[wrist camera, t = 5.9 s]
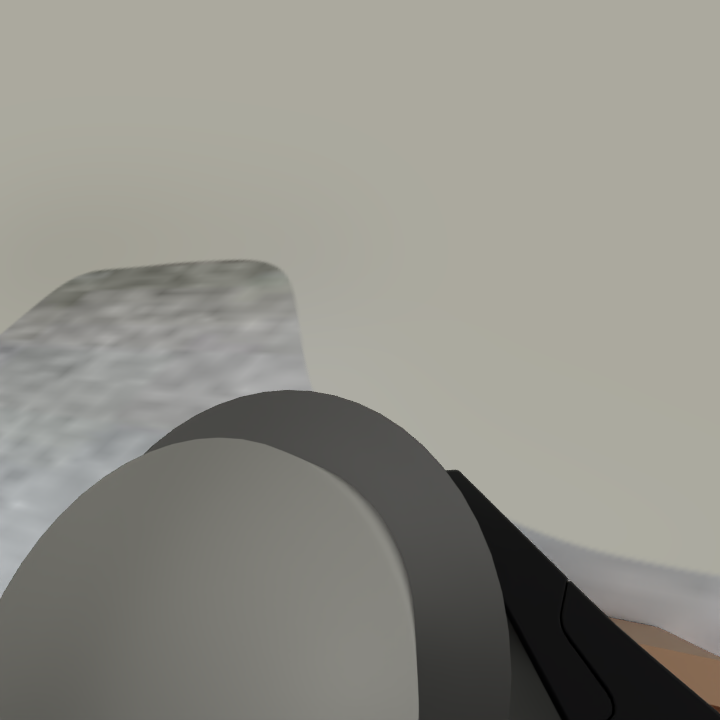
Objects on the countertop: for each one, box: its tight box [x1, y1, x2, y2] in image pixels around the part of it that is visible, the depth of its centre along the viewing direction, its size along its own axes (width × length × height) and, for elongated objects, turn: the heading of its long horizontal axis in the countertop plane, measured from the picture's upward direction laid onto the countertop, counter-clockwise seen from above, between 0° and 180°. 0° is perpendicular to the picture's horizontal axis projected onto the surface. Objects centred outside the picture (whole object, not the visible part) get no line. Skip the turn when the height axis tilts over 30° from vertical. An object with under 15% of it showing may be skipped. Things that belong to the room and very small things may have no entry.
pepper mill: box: [0, 390, 511, 720], centre depth 8 cm, size 5×5×13 cm
